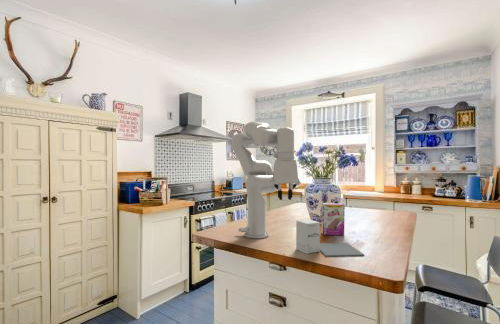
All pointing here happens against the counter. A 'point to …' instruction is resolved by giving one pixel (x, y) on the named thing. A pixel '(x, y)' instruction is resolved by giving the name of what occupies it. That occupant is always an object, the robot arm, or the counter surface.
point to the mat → (339, 250)
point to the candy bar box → (333, 219)
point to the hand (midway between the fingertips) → (285, 199)
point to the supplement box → (308, 236)
